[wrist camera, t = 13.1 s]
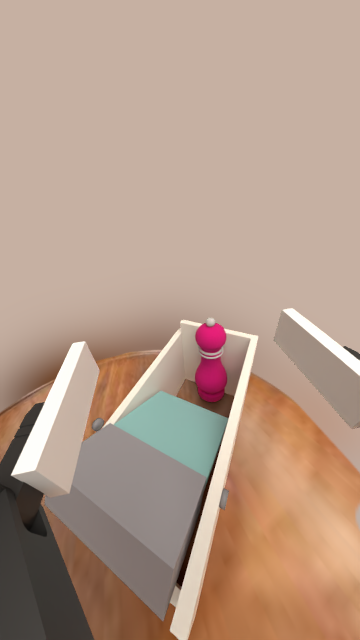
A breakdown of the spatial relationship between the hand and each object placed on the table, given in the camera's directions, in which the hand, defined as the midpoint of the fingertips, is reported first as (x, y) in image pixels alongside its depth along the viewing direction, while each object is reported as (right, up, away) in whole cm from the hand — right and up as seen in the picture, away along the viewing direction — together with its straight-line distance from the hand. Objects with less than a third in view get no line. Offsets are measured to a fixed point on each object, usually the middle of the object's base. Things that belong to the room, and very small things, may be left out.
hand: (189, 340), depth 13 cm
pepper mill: (+7, -16, +32) cm, 36 cm away
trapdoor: (-3, -18, +13) cm, 23 cm away
